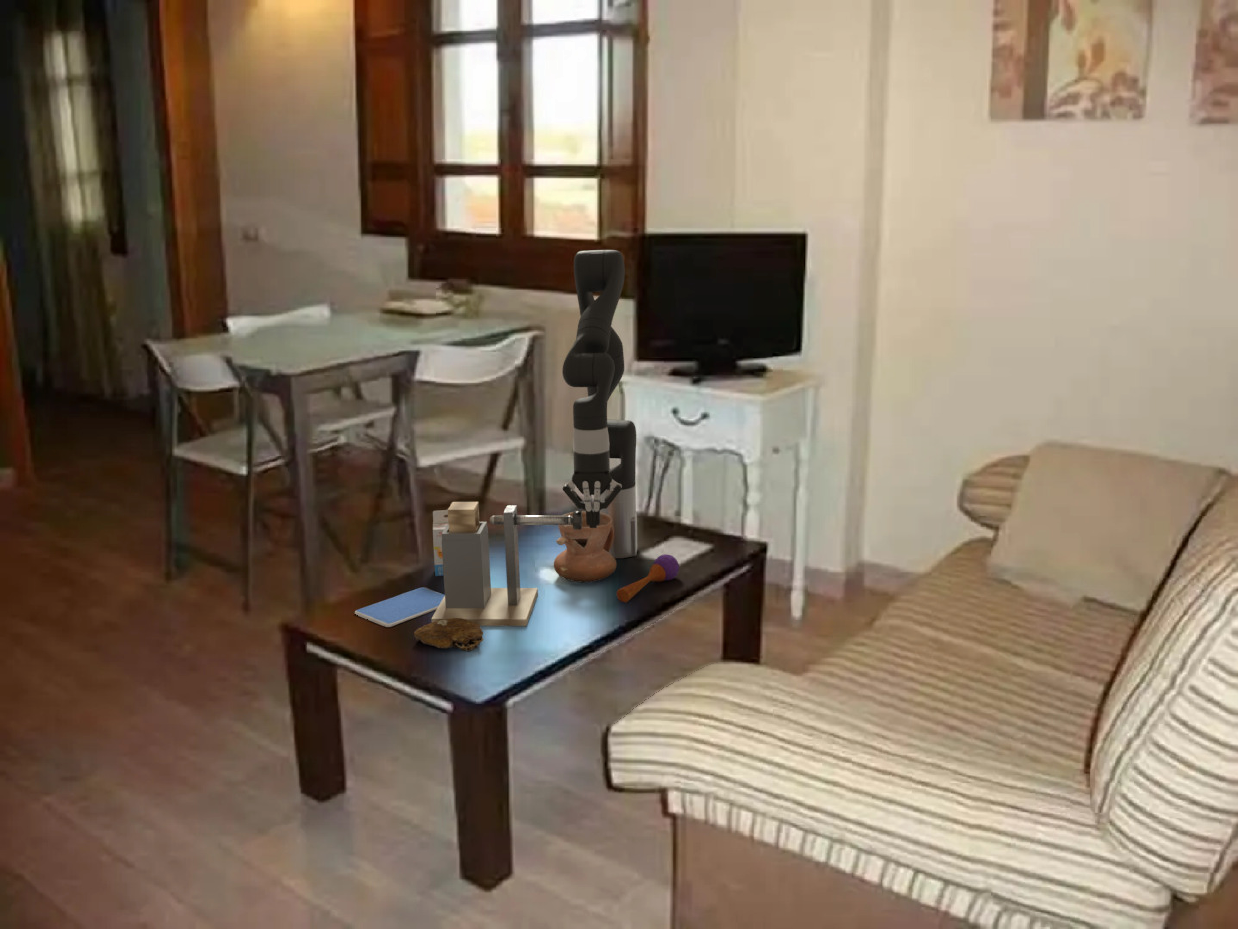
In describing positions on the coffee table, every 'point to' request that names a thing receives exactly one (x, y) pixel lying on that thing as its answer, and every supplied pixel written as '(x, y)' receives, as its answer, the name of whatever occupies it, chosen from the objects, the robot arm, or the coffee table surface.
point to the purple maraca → (651, 576)
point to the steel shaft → (542, 520)
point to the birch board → (494, 609)
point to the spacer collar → (463, 517)
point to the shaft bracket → (512, 556)
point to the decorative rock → (451, 634)
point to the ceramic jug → (586, 551)
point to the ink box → (439, 539)
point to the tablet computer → (402, 607)
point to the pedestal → (466, 568)
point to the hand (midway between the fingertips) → (593, 526)
